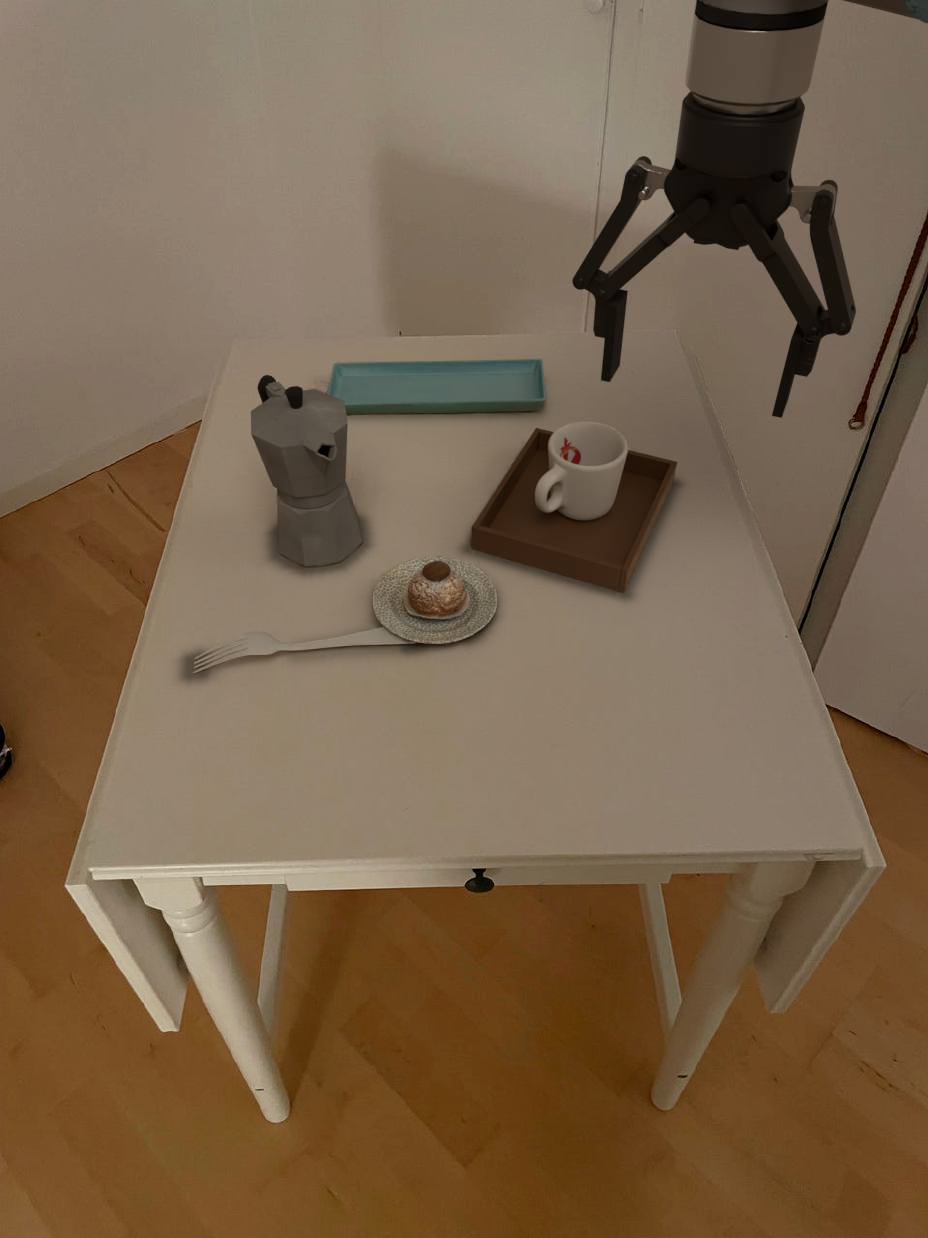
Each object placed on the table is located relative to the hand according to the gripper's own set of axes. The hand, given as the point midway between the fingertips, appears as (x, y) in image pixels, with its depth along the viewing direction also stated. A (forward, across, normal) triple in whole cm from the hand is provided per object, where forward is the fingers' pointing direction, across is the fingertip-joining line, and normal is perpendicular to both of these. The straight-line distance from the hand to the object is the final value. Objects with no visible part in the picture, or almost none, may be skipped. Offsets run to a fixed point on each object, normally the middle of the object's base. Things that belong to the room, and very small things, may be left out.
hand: (692, 390), depth 72 cm
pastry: (+22, +19, +10) cm, 31 cm away
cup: (+22, +11, -8) cm, 26 cm away
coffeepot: (+22, +35, +5) cm, 42 cm away
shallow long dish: (+22, +34, -22) cm, 46 cm away
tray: (+22, +11, -8) cm, 26 cm away
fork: (+23, +28, +20) cm, 41 cm away
